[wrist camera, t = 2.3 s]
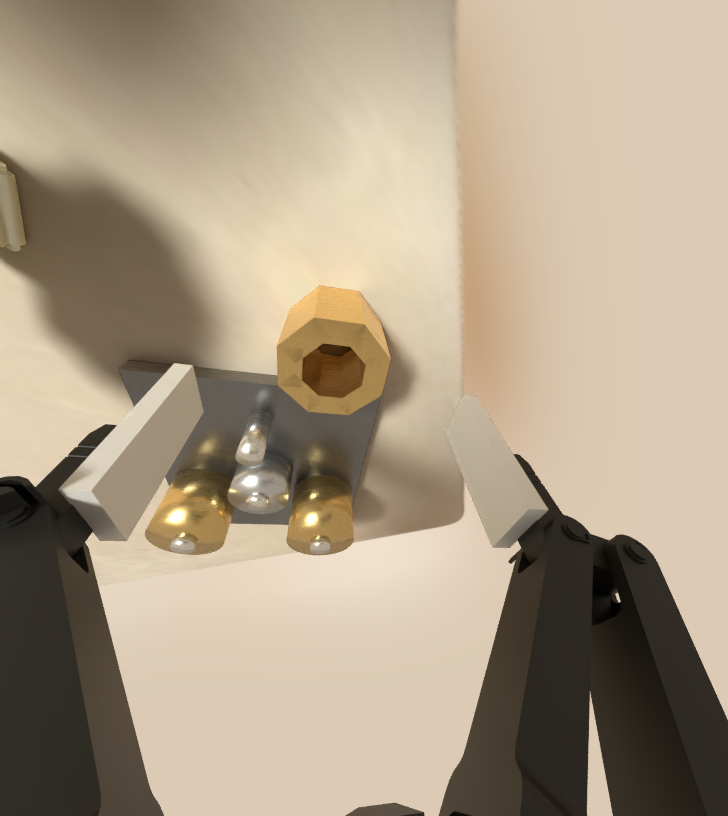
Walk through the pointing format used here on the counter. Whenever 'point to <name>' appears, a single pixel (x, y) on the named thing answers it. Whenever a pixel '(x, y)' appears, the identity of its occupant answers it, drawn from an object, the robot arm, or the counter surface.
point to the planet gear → (329, 374)
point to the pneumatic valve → (10, 212)
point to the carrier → (257, 464)
